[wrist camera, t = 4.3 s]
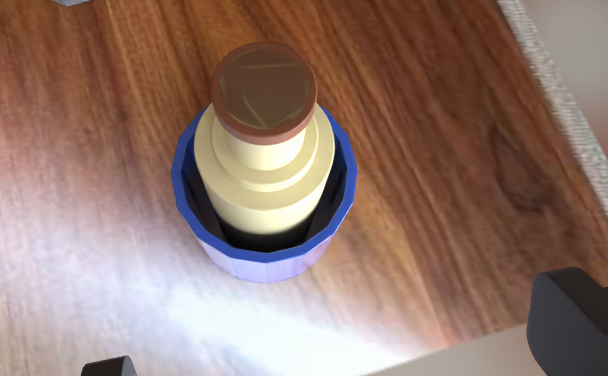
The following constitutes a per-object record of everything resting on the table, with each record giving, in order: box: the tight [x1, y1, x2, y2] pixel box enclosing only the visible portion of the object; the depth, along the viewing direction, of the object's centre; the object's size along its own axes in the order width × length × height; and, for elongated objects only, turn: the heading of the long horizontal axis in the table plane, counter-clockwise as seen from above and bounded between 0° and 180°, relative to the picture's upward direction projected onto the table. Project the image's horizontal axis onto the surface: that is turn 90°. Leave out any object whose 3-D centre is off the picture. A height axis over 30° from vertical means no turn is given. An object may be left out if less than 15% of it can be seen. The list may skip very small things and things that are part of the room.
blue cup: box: [171, 105, 357, 283], centre depth 30 cm, size 9×9×8 cm
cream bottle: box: [194, 42, 335, 253], centre depth 26 cm, size 6×6×16 cm
